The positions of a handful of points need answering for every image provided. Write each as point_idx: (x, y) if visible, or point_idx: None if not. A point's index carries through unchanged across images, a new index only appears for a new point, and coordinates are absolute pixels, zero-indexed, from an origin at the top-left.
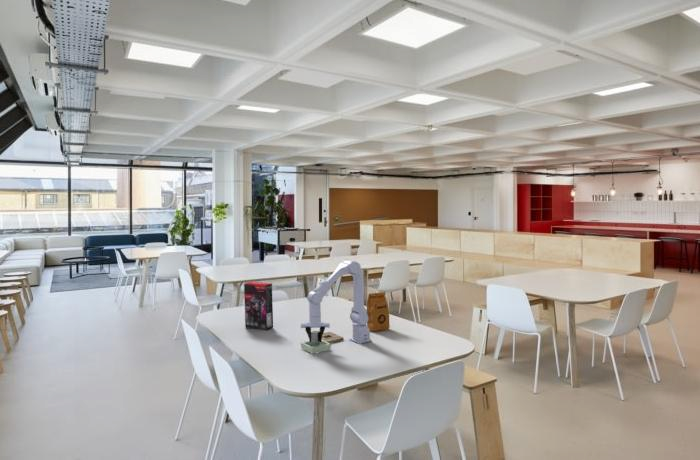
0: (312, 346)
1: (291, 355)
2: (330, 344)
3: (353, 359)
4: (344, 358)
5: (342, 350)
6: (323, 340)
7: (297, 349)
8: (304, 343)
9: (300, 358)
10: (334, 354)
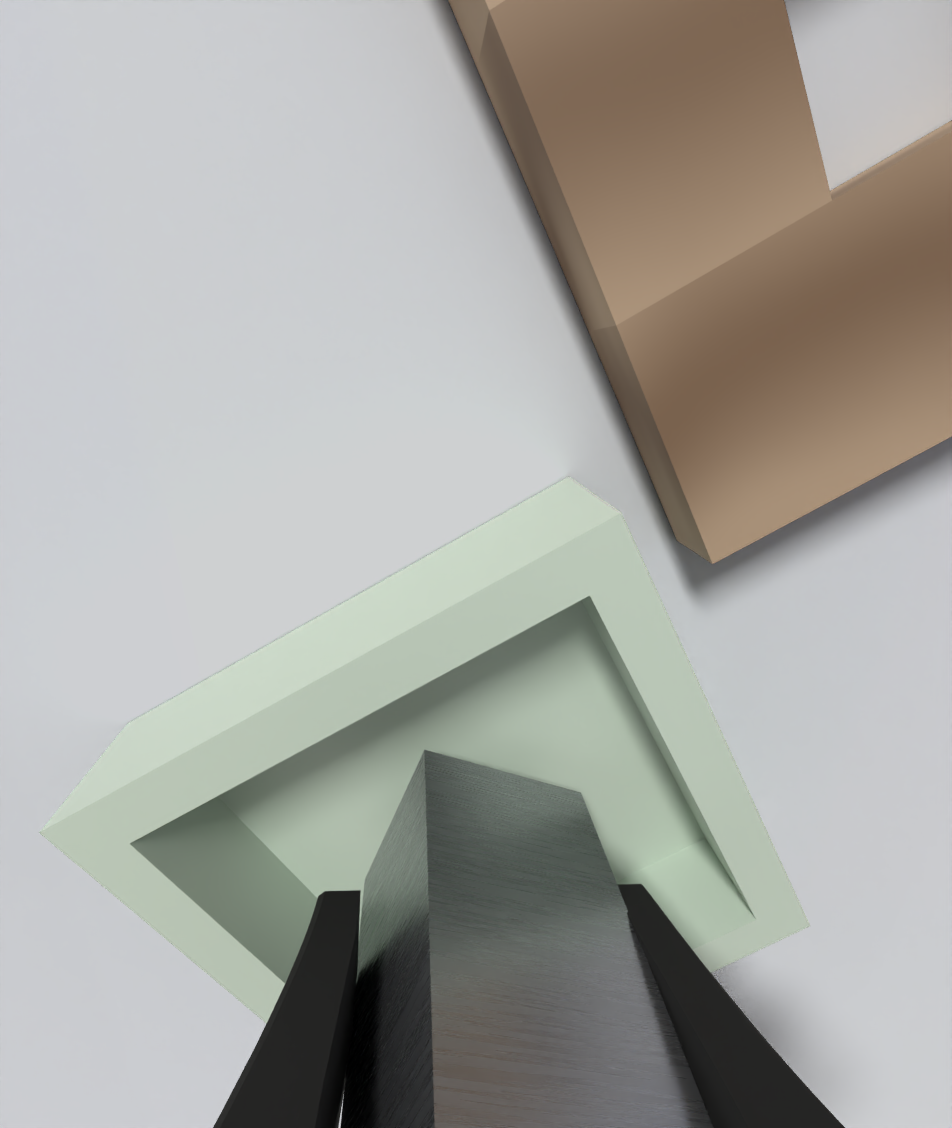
0: (393, 745)
1: (29, 1032)
2: (797, 913)
3: (909, 1104)
4: (823, 1088)
5: (907, 855)
6: (706, 708)
7: (56, 778)
8: (170, 896)
9: None
10: (740, 988)
